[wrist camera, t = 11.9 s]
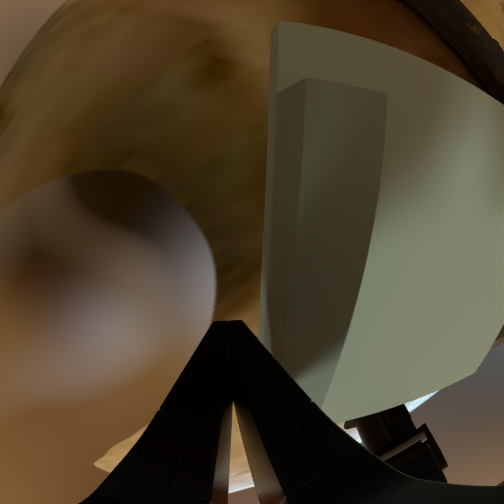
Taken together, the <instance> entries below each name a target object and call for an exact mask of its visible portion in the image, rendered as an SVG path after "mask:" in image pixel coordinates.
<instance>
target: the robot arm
mask: <svg viewBox="0 0 504 504" xmlns="http://www.w3.org/2000/svg"><path fill="white" fill-rule="evenodd" d="M233 403H234V407H235V412H236V416H237V420H238V424H239V428H240V432H241V436H242V440H243V444H244V448H245V452H246V456H247V460H248V463H249V467H250V471H251V474H252V478H253V482H254V485H255V488H256V492H257V495H258V498H259V502H260V504H504V481H503V482H501V483H500V484H498V485H497V486H472V485H459V484H449V483H447V480H446V477H445V476H444V473H443V471H442V470H444V469H446V468H447V467H448V465H447V462H446V460H445V458H444V456H443V454H442V452H441V450H440V448H439V446H438V445H437V443H436V441H435V439H434V438H433V436H432V434H431V432H430V431H429V429H428V427H427V425H426V424H425V423H424V424H422V425H421V427H419V428H418V429H416V427H415V425H414V423H413V421H412V419H411V415H410V413H409V411H408V410H407V408H406V406H405V404H401V405H399V406H396V407H393V408H390V409H387V410H383V411H380V412H377V413H374V414H370V415H367V416H363V417H359V418H356V419H352V420H348V421H346V423H345V425H344V428H345V429H350V428H354V427H356V428H357V430H358V433H359V435H360V438H361V440H362V443H363V445H364V446H363V445H361V444H360V443H359V442H357V441H356V440H355V439H353V438H352V437H351V436H350V435H349V434H347V433H346V432H345V431H344V430H342V429H341V428H340V427H339V426H338V425H337V424H336V423H335V422H334V421H332V420H331V419H330V418H329V417H328V416H327V415H326V414H325V413H324V412H323V411H322V410H321V409H320V407H319V406H318V405H317V404H316V403H315V402H314V401H313V402H312V399H311V398H310V397H309V396H308V395H307V394H306V393H305V391H304V390H303V389H302V388H301V387H300V386H299V385H298V384H297V383H296V382H295V380H294V379H293V378H292V377H291V376H290V375H289V374H288V373H287V372H286V370H285V369H284V368H283V367H282V366H281V365H280V364H279V362H278V361H277V360H276V359H275V358H274V357H273V356H272V354H271V353H270V352H269V351H268V350H267V349H266V348H265V346H264V345H263V344H262V343H261V342H260V341H259V339H258V338H257V337H256V336H255V335H254V333H253V332H252V331H251V330H250V329H249V328H248V326H247V325H246V324H245V323H244V322H243V321H242V320H231V321H214V322H213V323H212V324H211V326H210V327H209V329H208V331H207V332H206V334H205V335H204V337H203V339H202V340H201V342H200V344H199V345H198V347H197V348H196V350H195V352H194V353H193V355H192V356H191V358H190V360H189V361H188V363H187V365H186V366H185V368H184V369H183V371H182V373H181V374H180V376H179V378H178V379H177V381H176V382H175V384H174V386H173V387H172V389H171V391H170V392H169V394H168V395H167V397H166V399H165V400H164V402H163V403H162V405H161V406H160V410H158V411H157V413H156V414H155V416H154V417H153V419H152V421H151V422H150V424H149V425H148V427H147V428H146V430H145V431H144V433H143V434H142V436H141V437H140V438H139V440H138V441H137V442H136V443H135V445H134V446H133V447H132V448H131V450H130V451H129V452H128V453H127V455H126V456H125V457H124V458H123V459H122V460H121V462H120V463H119V464H118V465H117V466H116V467H115V468H114V470H113V471H112V472H111V473H110V474H109V475H108V476H107V478H106V479H105V480H104V481H103V482H102V483H101V484H100V485H99V487H98V488H97V489H96V490H95V491H94V492H93V493H92V494H91V495H90V496H89V497H87V498H86V499H85V500H83V501H82V502H80V503H79V504H228V487H229V466H230V446H231V428H232V409H233ZM425 438H427V440H426V441H425V442H423V443H422V442H421V441H422V440H423V439H425Z"/></svg>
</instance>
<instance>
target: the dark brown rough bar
mask: <svg viewBox="0 0 504 504" xmlns="http://www.w3.org/2000/svg"><path fill="white" fill-rule="evenodd" d="M402 1H403V2H405V3H407V4H408V5H410V6H411V7H412V8H413V9H414V10H416V11H417V12H418V13H419V14H421V15H422V16H423V17H424V18H425V19H426V21H427V22H428V23H429V24H430V25H431V26H433V27H434V28H435V29H436V30H437V31H438V33H439V34H440V35H441V36H442V38H443V39H445V40H446V41H447V42H448V43H449V44H450V45H451V46H453V47H454V48H455V50H456V51H457V52H458V53H459V54H460V55H461V56H462V57H463V59H464V60H465V61H466V62H467V64H468V65H469V66H470V68H471V69H472V70H473V72H474V73H475V74H476V75H477V77H478V78H479V80H480V81H481V82H482V83H483V84H484V85H485V87H486V88H487V90H488V91H489V92H490V94H491V95H492V96H493V98H494V99H496V100H497V101H499V102H500V103H501V104H503V105H504V51H503V49H502V48H501V47H500V45H499V42H497V41H496V40H495V39H493V38H492V37H491V36H490V34H489V33H488V32H487V31H486V30H485V29H484V27H483V26H482V25H481V24H480V23H479V21H478V20H477V19H476V18H475V17H474V16H473V15H472V13H471V12H470V11H469V10H468V9H467V8H466V7H465V5H464V4H463V3H462V2H461V1H460V0H402Z"/></svg>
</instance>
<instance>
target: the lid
mask: <svg viewBox="0 0 504 504" xmlns="http://www.w3.org/2000/svg"><path fill="white" fill-rule="evenodd" d="M503 324H504V105H503V104H501V103H500V102H499V101H497V100H496V99H494V98H493V97H491V96H490V95H488V94H487V93H485V92H484V91H482V90H480V89H479V88H477V87H476V86H474V85H472V84H471V83H469V82H467V81H465V80H464V79H462V78H460V77H458V76H456V75H455V74H453V73H451V72H449V71H447V70H445V69H443V68H441V67H439V66H437V65H435V64H433V63H431V62H428V61H426V60H424V59H422V58H419V57H417V56H415V55H412V54H410V53H407V52H405V51H402V50H400V49H397V48H394V47H392V46H389V45H386V44H383V43H380V42H377V41H374V40H371V39H368V38H364V37H361V36H357V35H354V34H350V33H346V32H342V31H338V30H334V29H329V28H325V27H320V26H314V25H309V24H303V23H297V22H290V21H282V20H278V22H277V23H276V25H275V27H274V28H273V30H272V31H271V49H270V85H269V116H268V144H267V170H266V194H265V217H264V238H263V259H262V278H261V297H260V316H259V333H258V339H259V341H260V342H261V343H262V344H263V345H264V346H265V348H266V349H267V350H268V351H269V352H270V353H271V354H272V356H273V357H274V358H275V359H276V360H277V361H278V362H279V364H280V365H281V366H282V367H283V368H284V369H285V370H286V372H287V373H288V374H289V375H290V376H291V377H292V378H293V379H294V380H295V382H296V383H297V384H298V385H299V386H300V387H301V388H302V389H303V390H304V391H305V393H306V394H307V395H308V396H309V397H310V398H311V399H312V402H313V401H314V402H315V403H316V404H317V405H318V406H319V407H320V409H321V410H322V411H323V412H324V413H325V414H326V415H327V416H328V417H329V418H330V419H331V420H332V421H334V422H335V423H339V422H344V421H348V420H352V419H356V418H359V417H363V416H367V415H370V414H374V413H377V412H380V411H383V410H387V409H390V408H393V407H396V406H399V405H401V404H404V403H407V402H410V401H413V400H415V399H418V398H420V397H423V396H425V395H428V394H430V393H433V392H435V391H437V390H440V389H442V388H444V387H446V386H449V385H451V384H453V383H455V382H457V381H459V380H461V379H463V378H465V377H467V376H469V375H471V374H473V373H475V372H476V370H477V368H478V367H479V366H480V364H481V362H482V361H483V359H484V358H485V356H486V354H487V353H488V351H489V350H490V348H491V346H492V344H493V343H494V341H495V339H496V337H497V336H498V334H499V332H500V330H501V328H502V326H503Z"/></svg>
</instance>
